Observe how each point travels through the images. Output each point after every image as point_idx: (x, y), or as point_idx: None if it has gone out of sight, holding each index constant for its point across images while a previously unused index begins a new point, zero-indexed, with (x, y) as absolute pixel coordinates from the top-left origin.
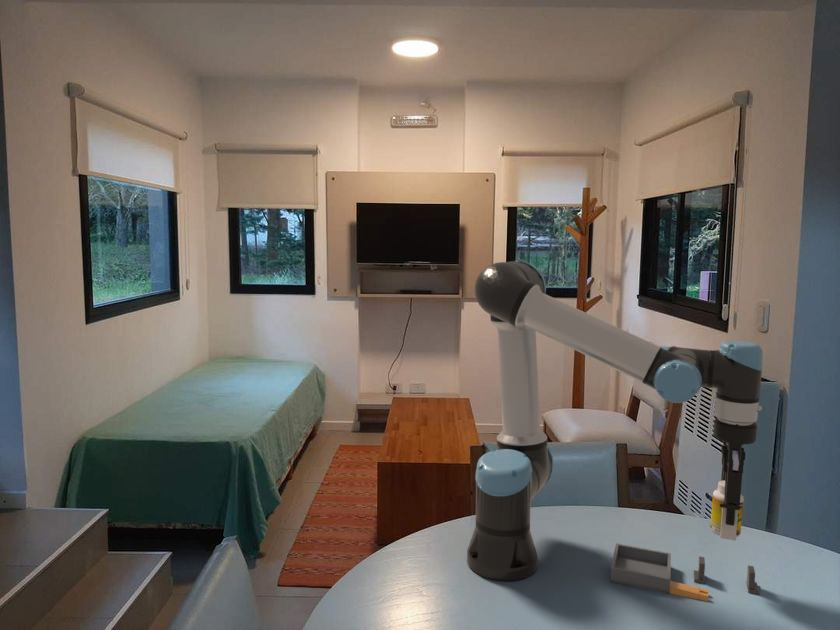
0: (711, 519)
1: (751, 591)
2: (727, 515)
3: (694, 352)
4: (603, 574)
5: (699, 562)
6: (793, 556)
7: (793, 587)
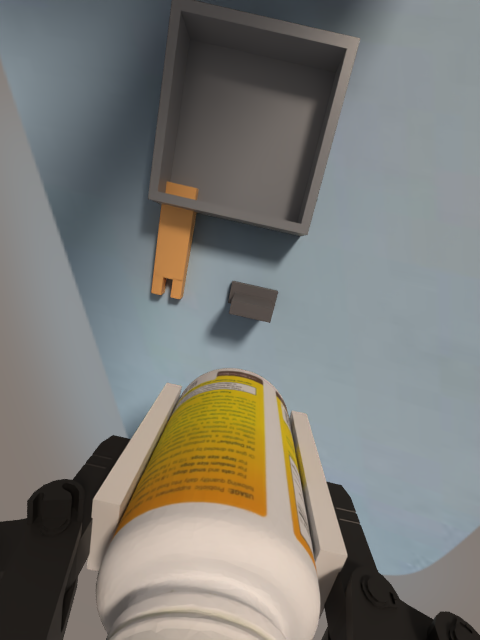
0: (226, 390)
1: None
2: (76, 477)
3: None
4: None
5: (237, 301)
6: (382, 519)
7: None
